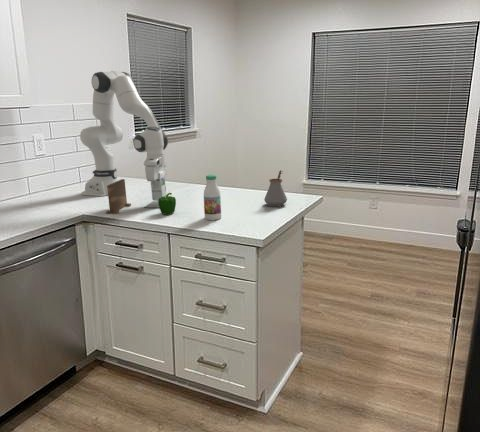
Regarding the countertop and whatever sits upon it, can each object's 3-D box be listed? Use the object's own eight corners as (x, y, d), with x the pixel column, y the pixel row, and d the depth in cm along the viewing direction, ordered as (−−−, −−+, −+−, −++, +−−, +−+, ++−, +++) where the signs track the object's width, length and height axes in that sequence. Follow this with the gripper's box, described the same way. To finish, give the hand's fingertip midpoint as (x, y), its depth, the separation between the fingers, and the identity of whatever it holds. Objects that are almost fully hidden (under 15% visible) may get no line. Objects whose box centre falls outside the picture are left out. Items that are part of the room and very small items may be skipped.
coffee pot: (284, 208, 222) (284, 178, 218) (262, 207, 225) (261, 177, 221) (291, 198, 242) (291, 170, 238) (270, 197, 245) (270, 169, 241)
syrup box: (162, 200, 231) (160, 172, 227) (151, 200, 232) (149, 172, 228) (166, 198, 236) (164, 170, 232) (156, 198, 237) (153, 170, 233)
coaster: (144, 208, 230) (144, 206, 230) (153, 202, 242) (153, 201, 242) (166, 208, 228) (166, 207, 228) (174, 202, 239) (174, 201, 239)
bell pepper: (160, 216, 214) (158, 196, 211) (158, 212, 222) (156, 192, 219) (178, 214, 216) (176, 194, 213) (175, 210, 224) (174, 190, 221)
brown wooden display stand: (105, 213, 222) (102, 185, 218) (120, 205, 237) (117, 179, 233) (117, 213, 221) (114, 185, 217) (131, 205, 236) (128, 179, 232)
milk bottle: (204, 216, 212) (202, 174, 207) (221, 215, 212) (219, 173, 207) (204, 221, 205) (202, 177, 199) (221, 220, 205) (220, 176, 200)
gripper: (157, 156, 239) (159, 182, 243) (142, 163, 220) (144, 190, 223) (169, 156, 238) (171, 182, 241) (154, 163, 218) (156, 191, 222)
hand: (158, 186), depth 232 cm, fingers closed on syrup box, 6 cm apart
